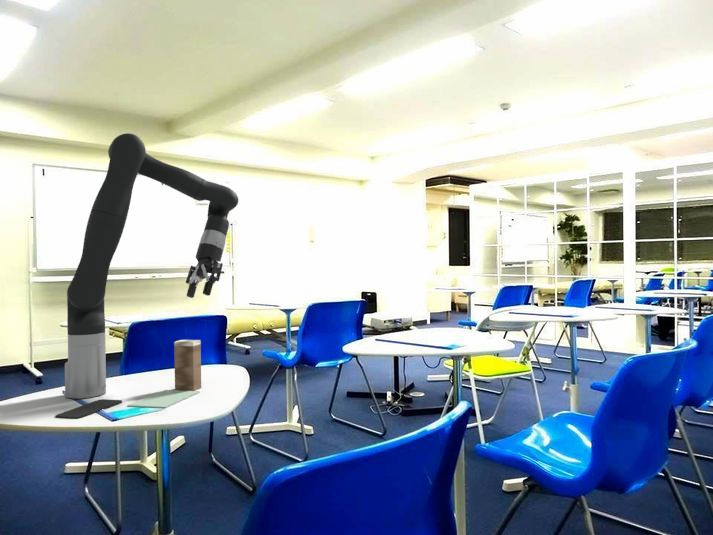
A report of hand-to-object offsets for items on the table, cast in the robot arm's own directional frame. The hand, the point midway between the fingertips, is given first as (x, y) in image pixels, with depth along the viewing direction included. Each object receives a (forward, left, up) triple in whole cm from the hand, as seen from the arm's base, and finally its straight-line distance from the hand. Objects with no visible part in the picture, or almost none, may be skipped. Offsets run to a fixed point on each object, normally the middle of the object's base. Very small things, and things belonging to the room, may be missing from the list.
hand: (197, 295), depth 146 cm
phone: (-22, -22, -27) cm, 42 cm away
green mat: (-6, -16, -27) cm, 32 cm away
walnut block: (-2, -5, -27) cm, 27 cm away
